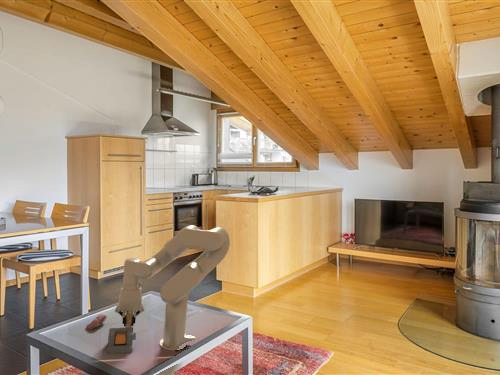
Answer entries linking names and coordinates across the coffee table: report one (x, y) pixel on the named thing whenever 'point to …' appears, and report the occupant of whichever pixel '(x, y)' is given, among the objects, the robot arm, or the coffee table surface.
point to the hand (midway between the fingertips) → (128, 324)
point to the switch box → (120, 348)
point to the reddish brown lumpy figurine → (96, 322)
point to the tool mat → (134, 336)
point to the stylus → (129, 319)
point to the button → (120, 339)
